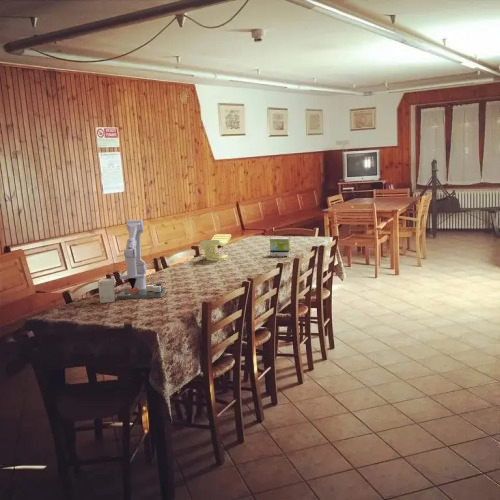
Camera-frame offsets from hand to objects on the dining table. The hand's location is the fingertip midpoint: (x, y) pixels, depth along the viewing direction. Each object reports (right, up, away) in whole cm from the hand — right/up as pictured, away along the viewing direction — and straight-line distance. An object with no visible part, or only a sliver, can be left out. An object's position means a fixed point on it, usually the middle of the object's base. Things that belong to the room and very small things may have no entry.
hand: (133, 290), depth 322 cm
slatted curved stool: (+44, +17, +108) cm, 118 cm away
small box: (-13, -6, -9) cm, 17 cm away
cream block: (+10, 0, +3) cm, 10 cm away
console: (+5, -3, 0) cm, 6 cm away
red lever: (0, -1, -3) cm, 3 cm away
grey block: (+15, -1, -1) cm, 15 cm away
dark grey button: (+15, +1, +4) cm, 15 cm away
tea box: (+95, +20, +110) cm, 146 cm away
